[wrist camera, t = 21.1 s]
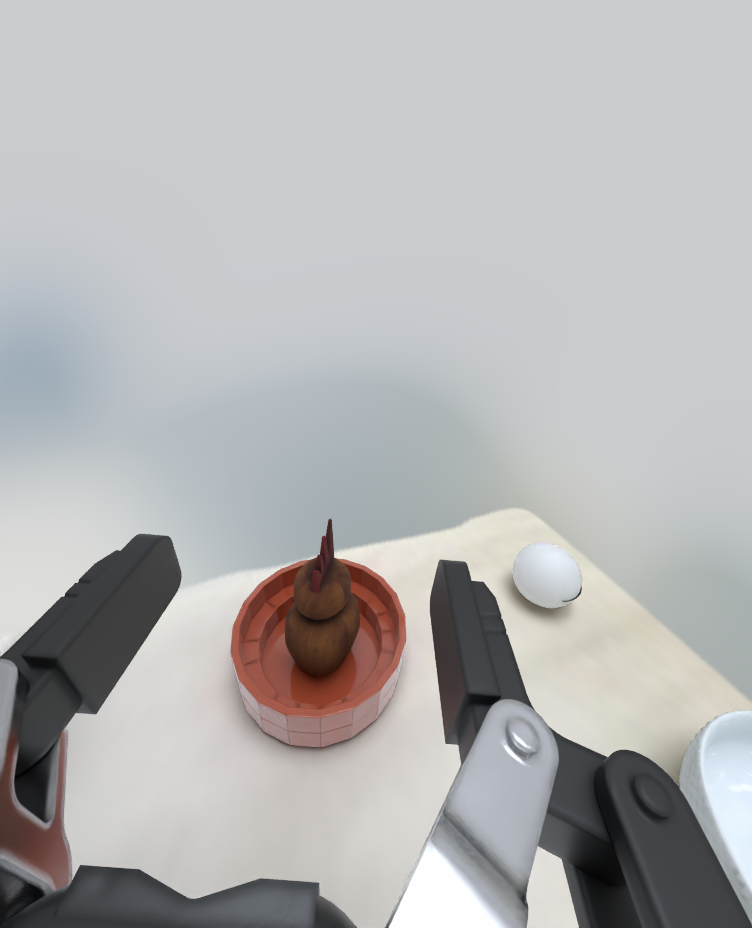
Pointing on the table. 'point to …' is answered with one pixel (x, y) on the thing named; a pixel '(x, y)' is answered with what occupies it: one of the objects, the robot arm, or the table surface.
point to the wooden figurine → (322, 613)
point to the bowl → (307, 696)
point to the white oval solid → (547, 575)
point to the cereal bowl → (724, 794)
